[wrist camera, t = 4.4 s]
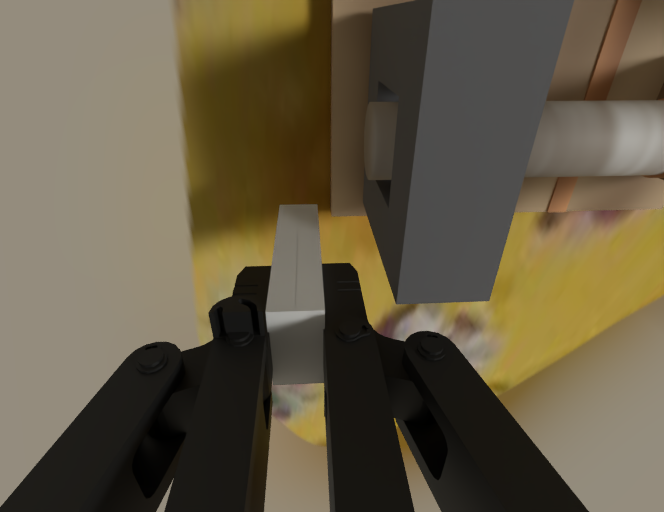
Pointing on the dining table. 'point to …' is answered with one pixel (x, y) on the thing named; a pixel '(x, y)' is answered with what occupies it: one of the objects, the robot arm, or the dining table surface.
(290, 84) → the dining table surface
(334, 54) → the pipe rig
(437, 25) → the dark grey flat block
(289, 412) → the dining table surface
